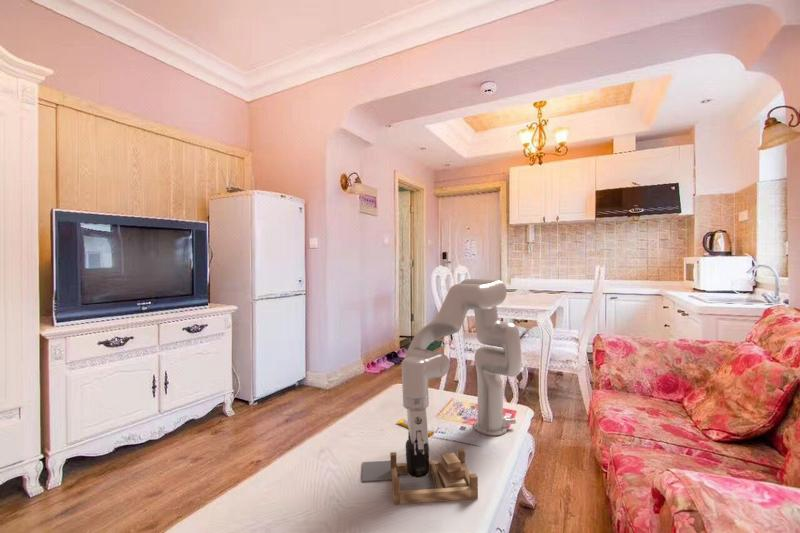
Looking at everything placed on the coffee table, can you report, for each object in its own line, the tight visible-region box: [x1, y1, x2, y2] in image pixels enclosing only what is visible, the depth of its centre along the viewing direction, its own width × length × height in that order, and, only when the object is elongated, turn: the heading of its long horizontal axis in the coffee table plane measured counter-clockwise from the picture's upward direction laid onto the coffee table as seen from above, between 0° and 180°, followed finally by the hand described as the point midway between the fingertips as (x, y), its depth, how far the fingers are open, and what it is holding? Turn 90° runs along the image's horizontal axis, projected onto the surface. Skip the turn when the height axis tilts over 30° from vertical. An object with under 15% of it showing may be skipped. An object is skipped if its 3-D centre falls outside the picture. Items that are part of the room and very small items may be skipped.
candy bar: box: [396, 418, 435, 438], centre depth 142 cm, size 17×4×2 cm, turn 46°
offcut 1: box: [440, 452, 461, 472], centre depth 107 cm, size 4×5×2 cm
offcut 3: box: [437, 467, 467, 488], centre depth 108 cm, size 6×9×3 cm, turn 9°
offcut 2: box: [438, 460, 465, 483], centre depth 108 cm, size 5×7×2 cm
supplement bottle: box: [405, 431, 430, 479], centre depth 107 cm, size 7×7×12 cm
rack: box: [389, 447, 479, 505], centre depth 107 cm, size 23×15×6 cm, turn 95°
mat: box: [361, 460, 392, 483], centre depth 114 cm, size 10×10×1 cm
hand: (417, 458), depth 107 cm, fingers closed on supplement bottle, 6 cm apart
